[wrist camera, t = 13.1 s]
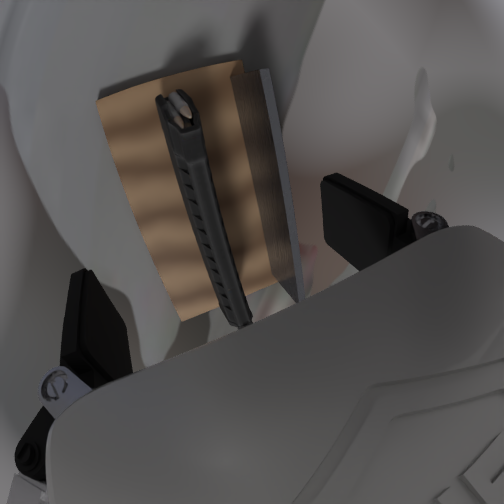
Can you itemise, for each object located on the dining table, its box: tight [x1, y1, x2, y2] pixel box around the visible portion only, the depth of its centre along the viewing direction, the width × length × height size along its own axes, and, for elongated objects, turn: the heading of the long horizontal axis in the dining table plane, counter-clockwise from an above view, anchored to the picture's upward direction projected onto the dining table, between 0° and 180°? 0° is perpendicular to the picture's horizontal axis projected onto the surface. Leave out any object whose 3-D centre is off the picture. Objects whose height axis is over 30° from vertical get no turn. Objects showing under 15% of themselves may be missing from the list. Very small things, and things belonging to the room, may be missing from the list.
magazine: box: [155, 89, 253, 329], centre depth 34 cm, size 17×3×30 cm
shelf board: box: [96, 60, 278, 321], centre depth 39 cm, size 34×18×2 cm, turn 14°
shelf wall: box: [230, 68, 305, 303], centre depth 36 cm, size 30×1×9 cm, turn 14°
